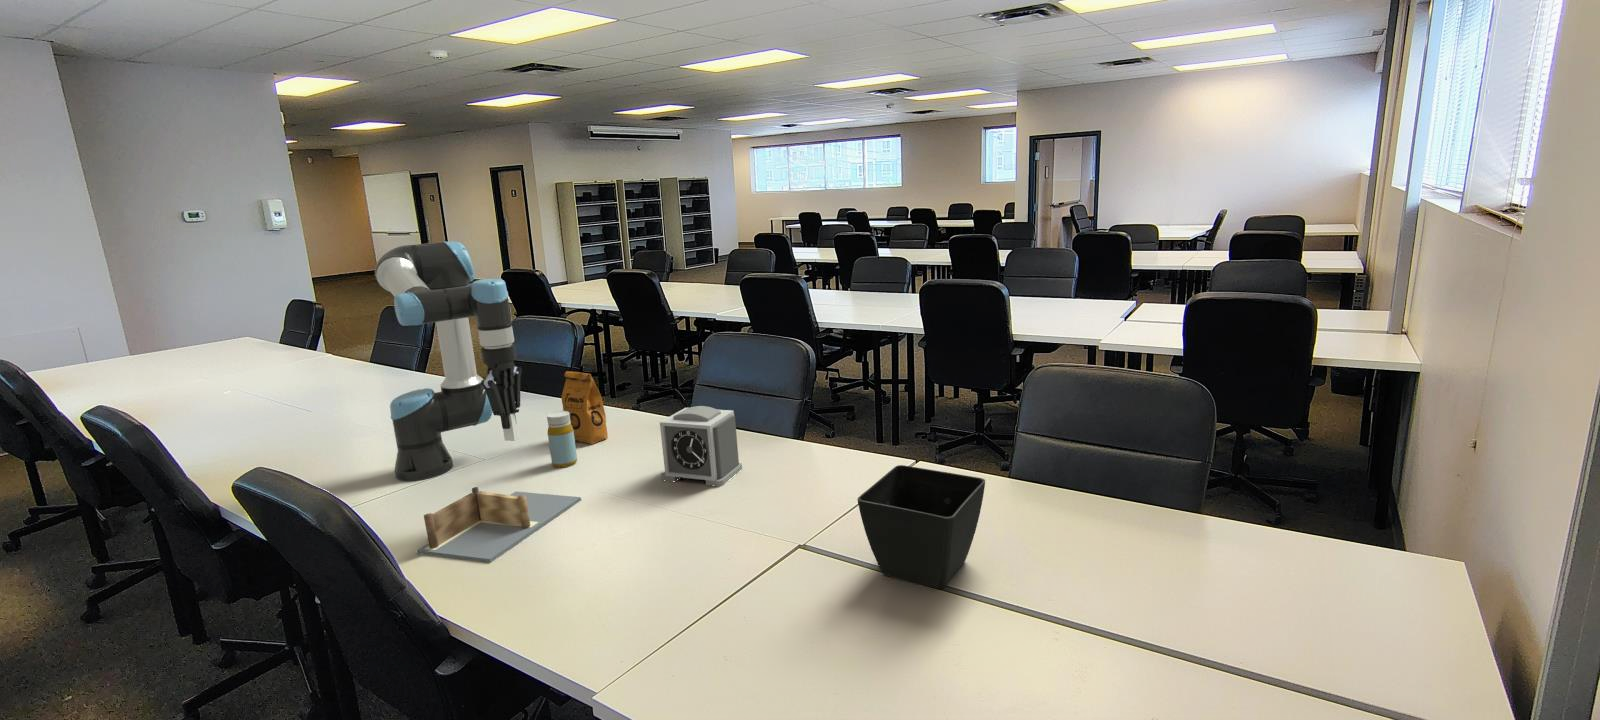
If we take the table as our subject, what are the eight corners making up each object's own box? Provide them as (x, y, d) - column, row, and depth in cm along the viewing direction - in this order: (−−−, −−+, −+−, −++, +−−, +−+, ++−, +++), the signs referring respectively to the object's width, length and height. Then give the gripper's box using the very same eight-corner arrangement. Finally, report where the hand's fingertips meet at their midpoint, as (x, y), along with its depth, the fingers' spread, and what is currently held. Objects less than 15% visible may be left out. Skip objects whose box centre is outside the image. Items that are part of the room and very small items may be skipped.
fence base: (434, 549, 166) (428, 515, 164) (427, 548, 167) (421, 515, 165) (485, 518, 181) (480, 487, 179) (479, 517, 182) (474, 486, 180)
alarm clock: (660, 480, 200) (653, 414, 196) (685, 463, 212) (679, 400, 208) (721, 487, 193) (715, 419, 189) (744, 468, 205) (738, 404, 201)
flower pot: (953, 604, 134) (951, 516, 130) (858, 580, 144) (854, 498, 140) (987, 557, 150) (987, 478, 146) (900, 538, 160) (897, 464, 156)
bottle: (570, 468, 214) (563, 417, 210) (547, 468, 215) (540, 417, 212) (581, 459, 220) (575, 410, 217) (560, 459, 222) (553, 410, 218)
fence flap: (479, 520, 179) (475, 491, 178) (485, 517, 181) (481, 488, 179) (526, 527, 174) (521, 498, 172) (532, 524, 175) (527, 495, 174)
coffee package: (588, 447, 231) (579, 377, 226) (562, 441, 238) (553, 374, 233) (613, 437, 239) (605, 370, 234) (588, 432, 246) (579, 366, 241)
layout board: (490, 562, 160) (489, 558, 160) (417, 553, 167) (416, 549, 166) (581, 500, 191) (580, 496, 190) (516, 494, 197) (515, 491, 197)
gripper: (500, 339, 184) (513, 430, 190) (465, 351, 172) (481, 448, 178) (527, 339, 183) (540, 431, 188) (494, 352, 170) (509, 450, 176)
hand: (511, 439), depth 183 cm, fingers closed
